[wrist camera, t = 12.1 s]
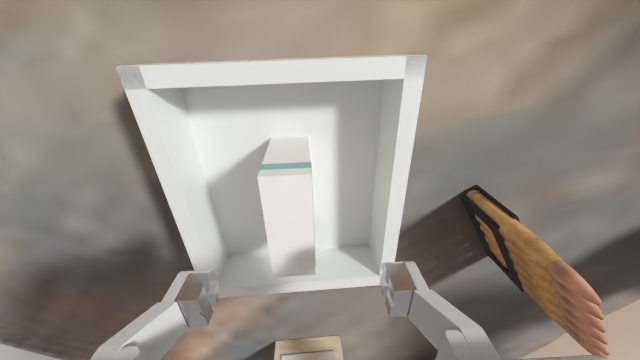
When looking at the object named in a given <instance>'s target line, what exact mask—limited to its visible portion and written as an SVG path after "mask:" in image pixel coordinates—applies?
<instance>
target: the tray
mask: <svg viewBox="0 0 640 360" xmlns="http://www.w3.org/2000/svg"><path fill="white" fill-rule="evenodd" d="M426 62H427V55H371V56H343V57H314V58H286V59H258V60H230V61H202V62H174V63H153V64H140V65H127V66H116V69H117V71H118V74H119V77H120V79H121V82H122V84H123V87H124V90H125V92H126V95H127V97H128V100H129V102H130V105H131V108H132V110H133V113H134V115H135V118H136V121H137V123H138V126H139V128H140V131H141V133H142V136H143V139H144V141H145V144H146V146H147V149H148V152H149V154H150V157H151V159H152V162H153V164H154V167H155V170H156V172H157V175H158V177H159V180H160V183H161V185H162V188H163V190H164V193H165V196H166V198H167V201H168V203H169V206H170V208H171V211H172V214H173V216H174V219H175V221H176V224H177V227H178V229H179V232H180V234H181V237H182V239H183V242H184V245H185V247H186V250H187V252H188V255H189V258H190V260H191V263H192V265H193V268H194V270H195V271H214V272H215V274H216V277H215V280H216V281H217V282H218V284H219V297H218V298H223V297H236V296H248V295H261V294H273V293H286V292H298V291H311V290H323V289H336V288H348V287H361V286H373V285H380V275H381V274H382V273H383V272H382V269H381V268H382V264H383V263H387V262H395V257H396V251H397V245H398V238H399V232H400V226H401V219H402V213H403V207H404V200H405V194H406V188H407V182H408V175H409V169H410V163H411V156H412V150H413V144H414V137H415V131H416V125H417V118H418V112H419V106H420V99H421V93H422V87H423V80H424V74H425V68H426ZM294 136H308V138H309V150H310V162H311V164H312V184H313V209H314V234H315V259H316V266H315V270H316V275H302V276H288V277H274V278H273V272H272V266H271V260H270V254H269V247H268V241H267V235H266V229H265V222H264V216H263V210H262V204H261V197H260V191H259V185H258V179H257V176H258V173H259V167H260V164H262V162H263V159H264V156H265V153H266V151H267V148H268V145H269V142H270V139H271V137H294Z"/></svg>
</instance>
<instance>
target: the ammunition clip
mask: <svg viewBox="0 0 640 360" xmlns="http://www.w3.org/2000/svg"><path fill="white" fill-rule="evenodd" d="M460 197H461V199H462V201H463V203H464V205H465V207H466V209H467V211H468V214H469V216H470V218H471V220H472V222H473V224H474V226H475V229H476V231H477V233H478V235H479V237H480V239H481V241H482V243H483V246H484V248H485V250H486V252H487V254H488V256H489V257H490V258H491V259H492V260H493V261H494V262H495V263H496V264H497V265H498V266H499V267H500V268H501V270H502V271H503V272H504V273H505V274H506V275H507V276H508V277H509V278H510V279H511V280H512V281H513V282H514V283H515V284H516V285H517V287H518V288H519V289H520V290H521V291H522V292H523V291H525V292H526V293H527V294H528V295H529V296H530V297H531V298H532V299H533V300H534V301H535V303H536V304H537V305H538V306H539V307H540V308H541V309H542V310H543V311H544V312H545V313H546V314H547V315H549V316H550V317H551V318H552V319H554V320H555V321H556V322H557V323H558V324H559V325H560V326H561V327H562V328H563V329H564V330H566V331H567V333H569V335H570V336H571V337H572V338H573V339H575V340H576V341H577V342H578V343H579V344H580V345H581V346H582V347H583V348H584V349H586V350H587V351H588V352H589V353H591V354H592V355H596V356H602V357H605V358H608V356H607V355H610V354H609V351H608V349H607V347H606V346H605V344H608V342H607V340H606V337H605V336H604V334H603V333H605V332H606V329H605V327H604V325H603V324H602V322H601V321H600V320H603V319H604V316H603V314H602V312H601V311H600V309H599V308H598V306H597V305H599V306H601V305H602V302H601V300H600V298H599V297H598V295H597V294H596V292H595V291H594V290H593V289H592V288H591V286H590V285H589V284H588V283H587V282H586V281H585V280H584V279H583V278H582V277H581V276H580V275H579V274H578V273H577V272H576V271H575V270H574V269H572V268H571V267H570V266H569V265H567V264H566V263H565V262H564V261H563V260H562V259H561V258H560V257H559V256H558V255H556V254H555V253H554V252H553V251H552V250H551V248H550V247H549V246H548V245H547V244H546V243H545V242H544V241H542V240H541V239H540V238H539V237H537V236H536V235H535V234H534V233H532V232H531V231H530V230H528V229H527V228H526V227H525V226H523V225H522V224H521V223H520V221H519V218H518V216H516V215H515V214H514V213H513V212H511V211H510V210H509V209H507V208H506V207H505V206H504V205H502V204H501V203H500V202H498V201H497V200H496V199H495V198H493V197H492V196H491V195H489V194H488V193H487V192H486V191H484V190H483V189H482V188H480V187H479V186H478V185H476V186H475V187H473V188H471V189H469V190H467V191H465V192H463V193H462V194H461V195H460ZM602 332H603V333H602ZM608 359H609V358H608Z"/></svg>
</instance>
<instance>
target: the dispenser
mask: <svg viewBox="0 0 640 360" xmlns="http://www.w3.org/2000/svg"><path fill="white" fill-rule="evenodd" d="M274 360H343V355H342V348H341V340H340V336H329V337H317V338H306V339H295V340H284V341H276V344H275V355H274Z"/></svg>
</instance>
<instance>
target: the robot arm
mask: <svg viewBox="0 0 640 360" xmlns="http://www.w3.org/2000/svg"><path fill="white" fill-rule="evenodd" d="M381 269H382V272H383V273H382V274H381V275H380V286H381V291H382V294H383V296H384V297H385V298H386V302H385V305H386V308H387V311H388V314H389V317H408V319H409V320H410V321H411V322H412V323H413V324H414V325H415V326H416V327H417V328H418V330H419V331H420V332H421V333H422V334H423V335H424V336H425V337H426V338H427V339H428V340H429V342H430V343H431V344H432V345H433V346H434V347H435V348H436V349H437V350H438V353H437V356H436V358H435V360H502V359H501V357H500V356H499V354H498V353H497V351H496V349H495V348H494V346H493V344H492V343H491V341H490V340H489V338H488V336H487V335H486V333H485V332H484V330H483V328H482V327H480V326H479V325H478V324H477V323H475V322H474V321H473V320H471V319H470V318H469V317H467V316H466V315H465V314H463V313H462V312H461V311H459V310H458V309H457V308H456V307H454V306H453V305H452V304H450V303H449V302H448V301H446V300H445V299H444V298H442V297H441V296H440V295H438V294H437V293H436V292H435V291H433V290H429V289H428V287H427V285H426V283H425V281H424V279H423V277H422V275H421V273H420V271H419V269H418V267H417V265H416V263H415V262H414V261H408V262H387V263H383V264H382V268H381ZM215 277H216V274H215V272H214V271H181V272H179V273H178V274H177V276H176V278H175V279H174V281H173V283H172V284H171V286H170V288H169V289H168V291H167V293H166V294H165V296H164V298H163V299H162V301H161V302H158V303H156V304H155V305H154V306H152V307H151V308H150V309H148V310H147V311H146V312H144V313H143V314H142V315H140V316H139V317H138V318H136V319H135V320H134V321H132V322H131V323H130V324H129V325H127V326H126V327H125V328H123V329H122V330H121V331H119V332H118V333H117V334H115V335H114V336H113V337H111V338H110V339H109V340H107V341H106V342H105V343H103V344H102V345H101V346H100V347H99V348H98V349H97V351H96V352H95V353H94V355H93V356H92V358H91V359H90V360H160V359H161V358H162V357H163V356H164V355H165V354H166V353H167V352H168V351H169V349H170V348H171V347H172V346H173V345H174V344H175V343H176V342H177V341H178V340H179V339H180V338H181V336H182V335H183V334H184V333H185V332H186V331H187V330H188V329H189V328H188V327H200V326H208V324H209V321H210V319H211V316H212V313H213V310H212V306H213V305H215V304H216V303H217V300H218V297H219V284H218V282H217V281H216V280H215ZM512 360H610V359H608V358H605V357H602V356H596V355H585V356H568V357H549V358H531V359H512Z"/></svg>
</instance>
